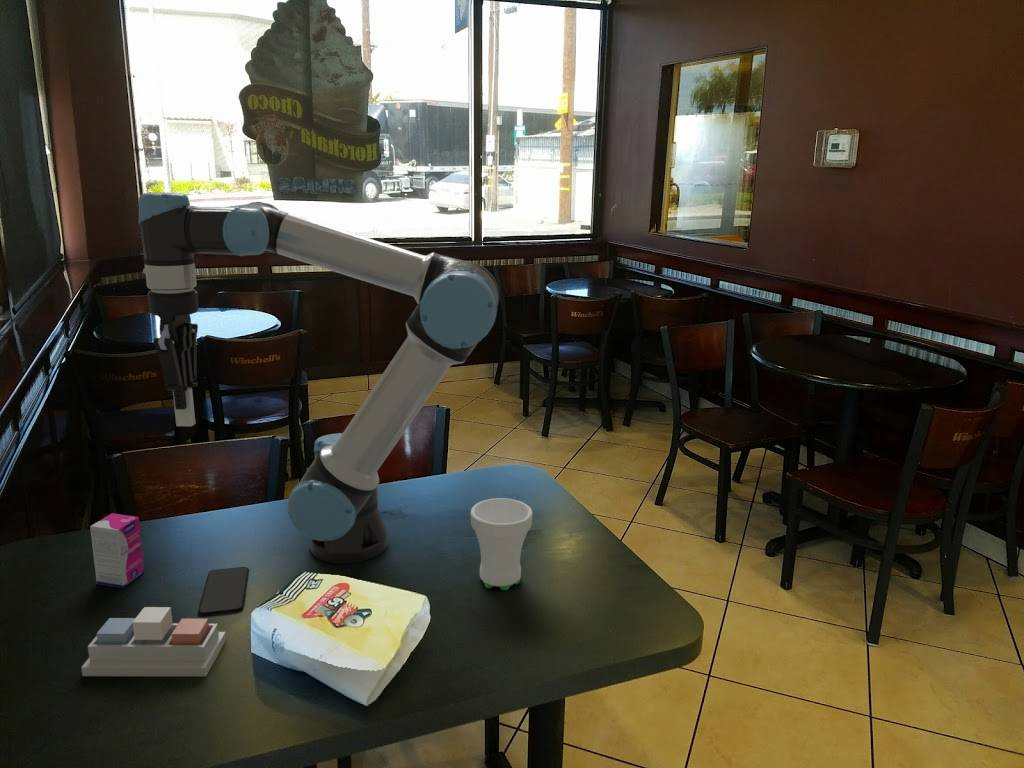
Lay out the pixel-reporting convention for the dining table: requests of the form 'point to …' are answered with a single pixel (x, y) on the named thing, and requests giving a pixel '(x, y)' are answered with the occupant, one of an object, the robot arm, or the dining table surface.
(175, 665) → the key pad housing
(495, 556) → the cup
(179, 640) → the red key
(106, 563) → the supplement box
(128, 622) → the blue key
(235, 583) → the smartphone
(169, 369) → the robot arm
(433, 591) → the dining table surface
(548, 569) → the dining table surface
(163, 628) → the white key
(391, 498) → the dining table surface
